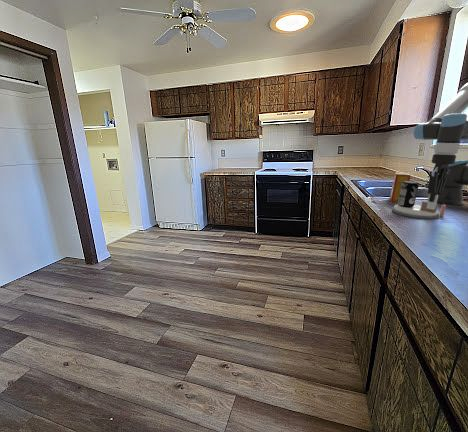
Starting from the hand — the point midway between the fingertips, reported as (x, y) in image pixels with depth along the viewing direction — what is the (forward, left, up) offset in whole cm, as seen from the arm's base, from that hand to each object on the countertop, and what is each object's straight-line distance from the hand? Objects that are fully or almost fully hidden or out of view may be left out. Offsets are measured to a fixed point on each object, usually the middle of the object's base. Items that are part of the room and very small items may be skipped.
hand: (430, 208), depth 108 cm
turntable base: (0, -7, -4) cm, 8 cm away
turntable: (0, -7, -3) cm, 8 cm away
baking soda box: (-15, -30, -5) cm, 34 cm away
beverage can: (+1, -11, -2) cm, 11 cm away
